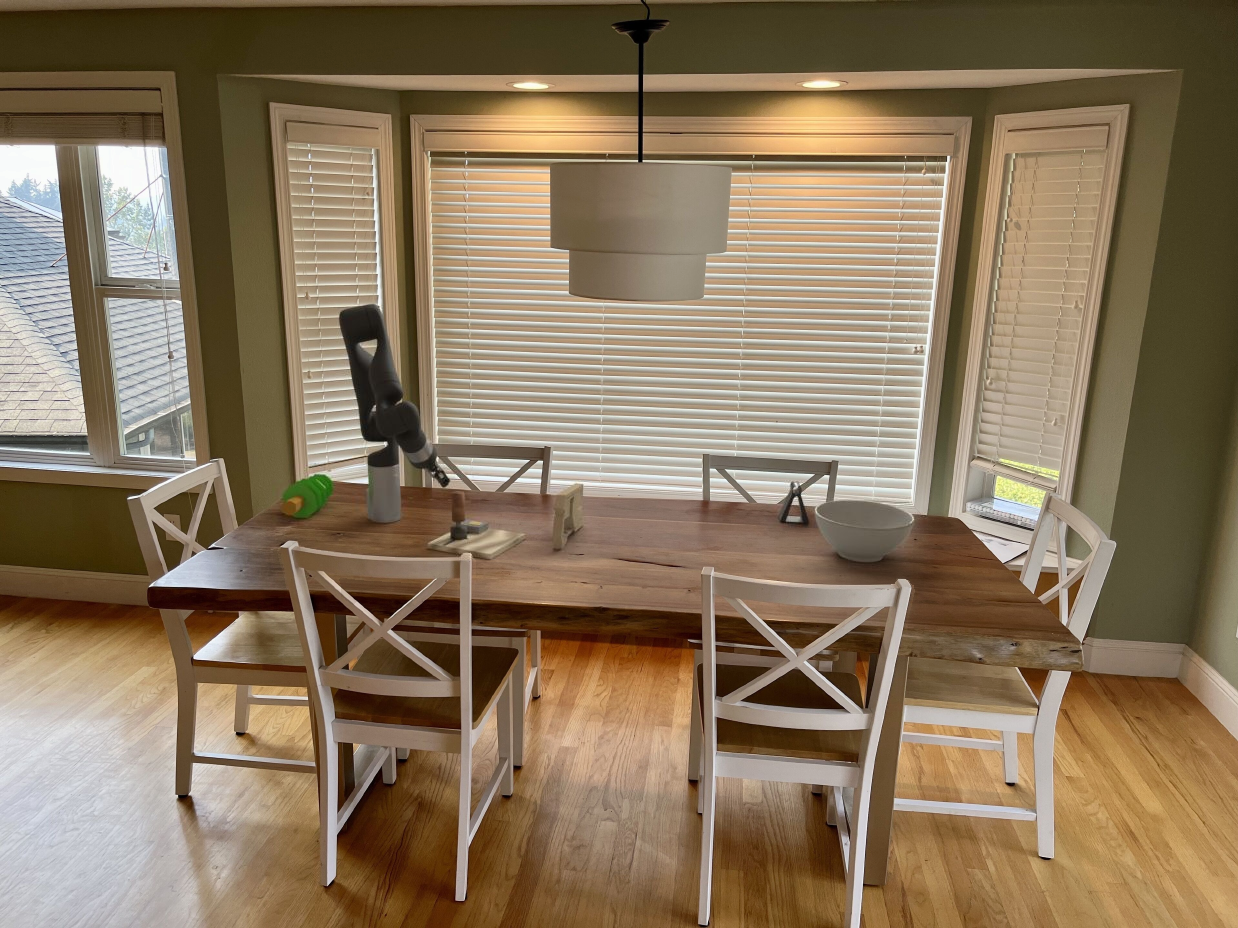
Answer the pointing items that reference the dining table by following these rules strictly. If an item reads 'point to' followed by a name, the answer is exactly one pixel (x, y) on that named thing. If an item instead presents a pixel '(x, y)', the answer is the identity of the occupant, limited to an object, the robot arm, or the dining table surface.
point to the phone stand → (787, 505)
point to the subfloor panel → (478, 543)
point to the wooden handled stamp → (458, 516)
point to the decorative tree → (307, 496)
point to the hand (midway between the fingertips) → (436, 475)
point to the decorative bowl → (863, 528)
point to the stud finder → (475, 526)
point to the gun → (567, 514)
